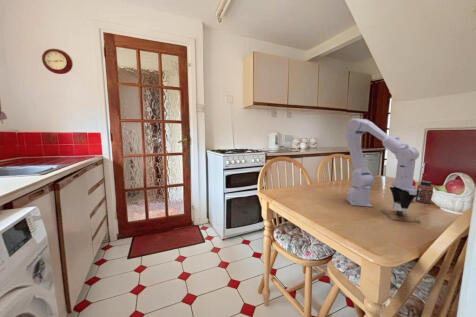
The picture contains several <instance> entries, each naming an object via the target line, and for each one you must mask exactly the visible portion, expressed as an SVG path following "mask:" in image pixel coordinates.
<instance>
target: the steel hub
mask: <svg viewBox="0 0 476 317" xmlns="http://www.w3.org/2000/svg"><path fill="white" fill-rule="evenodd" d="M392 209H394V211H397V210H398V211H403V212H407V213H408V211H409V208H408V209H405V208H401V201H394V200H393V202H392Z"/></svg>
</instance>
